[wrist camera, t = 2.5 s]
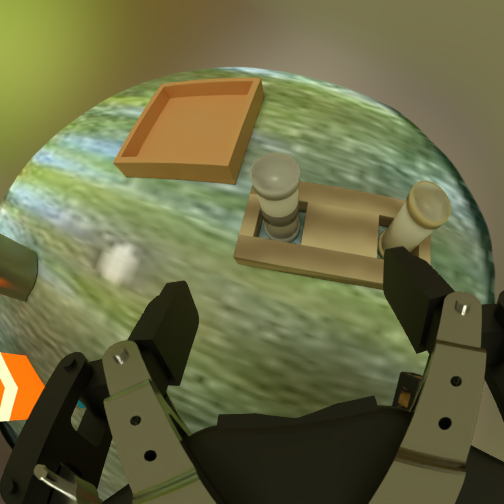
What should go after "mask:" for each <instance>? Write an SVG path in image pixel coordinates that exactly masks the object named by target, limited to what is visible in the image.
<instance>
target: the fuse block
mask: <svg viewBox="0 0 504 504" xmlns="http://www.w3.org/2000/svg"><path fill="white" fill-rule="evenodd" d="M298 197H299V211H302V212H306V218H305V223H304V229H303V235H302V240H301V245H300V244H294V243H288V242H282V241H276V240H270V239H264V238H258V236H259V232H260V228H261V223H262V219H263V216H262V213H261V209H260V206H259V200H258V196H257V193H256V192H255V190H254V188H253V185H252V189H251V193H250V196H249V200H248V204H247V207H246V211H245V215H244V218H243V222H242V226H241V229H240V233H239V237H238V241H237V244H236V248H235V252H234V256H233V257H234V259H235V260H236V261H237V263H238V264H243V265H248V266H253V267H259V268H264V269H269V270H275V271H280V272H286V273H291V274H297V275H302V276H308V277H313V278H319V279H324V280H330V281H336V282H341V283H347V284H353V285H359V286H365V287H370V288H376V289H382V290H383V269H384V259H378V258H377V245H378V229H379V225H380V226H385V227H389V225H390V224H391V223H392V221H393V220H394V218H395V217H396V215H397V214H398V212H399V211H400V209H401V208H402V207H403V205H404V204H405V202H406V201H403V200H399V199H395V198H390V197H385V196H381V195H376V194H371V193H366V192H361V191H355V190H350V189H345V188H339V187H333V186H327V185H321V184H314V183H308V182H301V181H300V184H299V187H298ZM411 254H412V255H413V256H417V257H419V258H421V259H423V260H425V261H427V262H428V263H429V264H430V234H429V235H428V236H427V237H426V238H425V239H424V240H423V241H422V242H421V243H420V244H419V245H418V246H417V247H416V248H414V249H413V250H412V251H411Z"/></svg>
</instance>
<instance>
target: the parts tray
mask: <svg viewBox="0 0 504 504" xmlns="http://www.w3.org/2000/svg"><path fill="white" fill-rule="evenodd" d="M263 98H264V92H263V87H262V81H261V78H220V79H204V80H192V81H182V82H174V83H166V84H161V86H160V87H159V89H158V90H157V91H156V93H155V94H154V96H153V97H152V99H151V100H150V102H149V103H148V105H147V106H146V108H145V109H144V111H143V112H142V114H141V115H140V117H139V119H138V120H137V122H136V123H135V125H134V127H133V128H132V130H131V132H130V133H129V135H128V137H127V139H126V140H125V142H124V144H123V146H122V147H121V149H120V151H119V153H118V155H117V157H116V158H115V160H114V162H113V163H114V164H115V165H116V166H117V168H118V169H119V170H120V171H121V172H122V173H123V174H124V175H125V176H126V177H139V178H160V179H177V180H191V181H203V182H215V183H225V184H235V183H236V180H237V177H238V174H239V171H240V167H241V164H242V161H243V158H244V155H245V152H246V149H247V146H248V143H249V140H250V137H251V134H252V131H253V128H254V125H255V122H256V119H257V116H258V113H259V110H260V107H261V104H262V101H263Z"/></svg>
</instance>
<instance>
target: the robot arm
mask: <svg viewBox="0 0 504 504" xmlns="http://www.w3.org/2000/svg"><path fill="white" fill-rule="evenodd" d="M37 267H38V263H37V256H36V254H35V252H34V251H33V250H31V249H29V248H27V247H26V246H23V245H21V244H19V243H17V242H15V241H13V240H11V239H10V238H8V237H6V236H4V235H2V234H0V294H2V295H5V296H9V297H12V298H15V299H18V300H21V301H26V299H27V296H28V294H29V293H30V291H31V290H32V288H33V285H34V283H35V279H36V275H37ZM383 290H384V295H385V297H386V299H387V301H388V303H389V304H390V306H391V308H392V309H393V311H394V313H395V315H396V316H397V318H398V320H399V322H400V324H401V325H402V327H403V329H404V331H405V333H406V335H407V336H408V338H409V340H410V342H411V344H412V346H413V348H414V350H415V352H416V354H417V353H421V352H424V351H428V353H429V357H428V360H427V363H426V366H425V370H424V373H423V376H422V379H421V382H420V385H419V388H418V390H417V393H416V396H415V399H414V401H413V403H412V406H411V408H410V410H409V411H408V410H406V409H402V408H399V407H393V406H383V405H379V406H377V403H376V400H375V396H370V397H365V398H361V399H357V400H352V401H347V402H342V403H337V404H334V405H332V406H330V407H327V408H324V409H322V410H319V411H317V412H314V413H311V414H308V415H306V416H303V417H299V418H287V417H278V416H271V415H263V414H257V413H254V414H219V416H218V422H217V425H215V426H211V427H208V428H205V429H202V430H200V431H197V432H196V433H194V434H192V433H191V432H190V431H189V429H188V428H187V426H186V424H185V423H184V421H183V419H182V418H181V416H180V414H179V412H178V411H177V409H176V407H175V405H174V403H173V402H172V400H171V398H170V396H169V394H168V393H167V392H166V390H167V387H168V385H172V386H180V383H181V380H182V376H183V373H184V370H185V367H186V363H187V360H188V357H189V354H190V351H191V347H192V344H193V341H194V338H195V335H196V332H197V329H198V325H199V316H198V311H197V309H196V306H195V303H194V301H193V298H192V295H191V293H190V290H189V287H188V285H187V283H186V282H185V281H177V282H170V283H166V285H165V286H164V288H163V290H162V291H161V293H160V295H159V296H157V297H155V298H154V299H153V300H152V301H151V302H150V303H149V304H148V306H147V307H146V309H145V311H144V313H143V314H142V316H141V317H140V320H139V321H138V322H137V324H136V326H135V328H134V329H133V331H132V333H131V335H130V336H129V338H128V340H125V341H121V342H118V343H116V344H114V345H112V346H111V347H110V348H108V350H107V351H106V352H105V353H104V355H103V359H100V360H96V361H92V362H88V360H87V359H86V357H85V356H84V355H83V354H82V353H80V352H74V353H71V354H69V355H67V356H66V357H64V358H63V359H62V360H61V361H60V362H59V364H58V366H57V367H56V369H55V370H54V372H53V374H52V375H51V377H50V379H49V380H48V382H47V384H46V386H45V387H44V389H43V391H42V393H41V394H40V396H39V398H38V400H37V402H36V403H35V405H34V407H33V409H32V411H31V413H30V415H29V417H28V419H27V421H26V423H25V425H24V427H23V429H22V431H21V433H20V435H19V437H18V439H17V442H16V444H15V446H14V448H13V451H12V453H11V455H10V458H9V460H8V462H7V465H6V468H5V470H4V473H3V476H2V478H1V482H0V493H1V496H2V498H3V500H4V502H5V503H6V504H504V462H503V461H501V460H499V459H497V458H495V457H493V456H491V455H489V454H487V453H485V452H483V451H481V450H479V449H477V448H475V447H473V446H472V445H471V442H472V439H473V435H474V431H475V427H476V422H477V418H478V413H479V408H480V403H481V397H482V391H483V384H484V379H485V381H486V383H487V385H488V387H489V389H490V391H491V393H492V395H493V398H494V400H495V402H496V404H497V407H498V409H499V411H500V414H501V416H502V419H503V421H504V291H502V292H501V293H500V295H499V298H498V301H497V304H483V305H481V303H480V301H479V300H478V299H477V298H476V297H475V296H473V295H472V294H469V293H466V292H455V291H454V290H453V289H452V288H451V287H450V285H449V284H448V283H447V282H446V281H445V280H444V279H443V278H442V277H441V276H440V275H438V273H437V272H436V271H435V269H433V267H432V266H431V265H430V264H429V263H428V262H427V261H425V260H423V259H421V258H419V257H417V256H413V255H412V254H411V253H410V252H409V251H408V250H407V249H406V248H405V247H404V246H400V247H394V248H389V249H386V250H385V252H384V269H383ZM78 400H80V402H81V403H82V404H83V405H84V406H85V407H86V408H87V409H86V411H85V413H84V416H83V418H82V420H81V423H80V425H79V428H78V430H77V431H76V430H75V429H74V428H73V427H72V424H71V416H72V413H73V411H74V409H75V407H76V405H77V402H78ZM112 438H113V440H114V443H115V447H116V450H117V453H118V456H119V459H120V461H121V464H122V467H123V470H124V472H125V475H126V478H127V480H128V483H129V484H128V485H126V486H125V487H123V488H122V489H121V490H119V491H118V492H116V493H115V494H114V495H112V496H111V497H109V498H108V499H106V500H105V501H103V500H102V499H100V498H99V495H98V491H97V488H98V485H99V481H100V477H101V474H102V470H103V467H104V464H105V460H106V457H107V454H108V450H109V447H110V444H111V441H112Z"/></svg>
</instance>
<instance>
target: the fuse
mask: <svg viewBox="0 0 504 504" xmlns="http://www.w3.org/2000/svg"><path fill="white" fill-rule="evenodd" d="M450 213H451V205H450V201H449V199H448V197H447V195H446V193H445V192H444V191H443V190H442V189H441V188H440V187H439V186H438V185H436V184H435V183H432V182H429V181H420V182H418V183H416V184H415V185H414V186H413V188H412V190H411V191H410V193H409V194H408V196H407V200H406V202H405V204H404V205H403V207H402V208H401V209H400V211H399V212H398V214H397V215H396V217H395V218H394V220H393V221H392V223H391V224H390V225H389V227H388V228H387V230H385V231H384V232H383V233H382V234H381V236H380V237H379V239H378V245H377V251H378V254H379V256H380V257H381V258H382V259H384V252H385V250H386V249H389V248H394V247H400V246H404V247H405V248H406V249H407V250H408V251H409V252H411V251H412V250H413V249H414V248H416V247H417V246H418V245H419V244H420V243H421V242H422V241H423V240H424V239H425V238H426V237H427V236H428V235H429V234H431V233H432V232H433V231H434V230H435V229H437V228H439V227H440V226H441V225H442V224H443V223H444V222H445V221H446V220H447V219H448V218H449V216H450Z"/></svg>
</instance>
